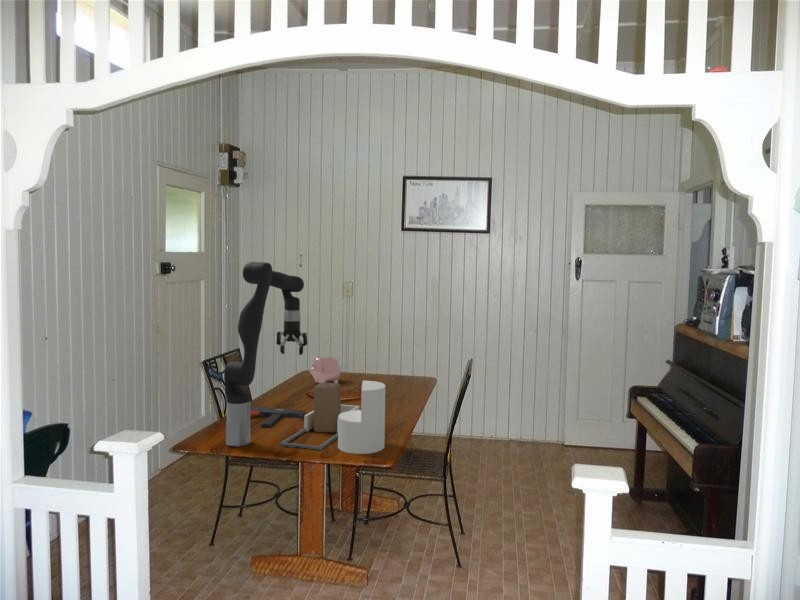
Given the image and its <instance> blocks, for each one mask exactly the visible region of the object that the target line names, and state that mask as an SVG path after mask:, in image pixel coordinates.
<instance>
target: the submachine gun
mask: <svg viewBox="0 0 800 600" xmlns="http://www.w3.org/2000/svg"><path fill="white" fill-rule="evenodd" d="M306 414H307V411H306V410H297V409H287V408H276V407H267V406H266V407H265V406H253V407H250V420H251V419H253V418H254V419H255V418H264V419H265V418H267V419H265V420H264V421H263V422H262V423H261V424H260V426H261V428H269V429H270V428H272V427H273V426H274V425H275V424H276V423H277V422H278V421H279V420H280V419H281V418H294V419H295V418H296V419H297V418H299V419H300V421H301V420H302V422H304V416H305V415H306ZM302 417H303V418H302Z"/></svg>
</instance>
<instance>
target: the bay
mask: <svg viewBox="0 0 800 600" xmlns="http://www.w3.org/2000/svg"><path fill="white" fill-rule="evenodd" d="M304 432H305V433H307V432H306V429H304V428H302V429H300V430H299V431H297V432H296V433H293V434H292V435H291V436H289V437H288V438H285V439H284V440H283V441H281V442H280V443H279V446H280V447H285V446H289V448H294V447H301V448H300V449H303V448H307V449H306V450H311V449H316V450H315V451H322V450H323V449H324V448H326V447H327V446H328V445H330V444H331V443H332V442H334V441H335V440H336V439H337V440H338V433H337V432H336V433H334V435H332V436H331V437H330V438H328V439H327V440H325V441H324V442H322V443H321V444H320V445H312V444H311V445H310V444H300V443H293V442H292V441H293V440H295V439H297V438H298V437H300V436H301V435H303V434H305V433H304ZM302 433H303V434H302ZM299 435H300V436H299ZM296 437H297V438H296ZM294 438H295V439H294ZM291 440H292V441H291ZM288 442H289V443H288ZM325 446H326V447H325Z"/></svg>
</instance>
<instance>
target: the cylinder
mask: <svg viewBox="0 0 800 600" xmlns="http://www.w3.org/2000/svg"><path fill="white" fill-rule="evenodd" d="M360 390H361V400H360V401H361V403H360V404H361V405H360V408H361V409H359V410H353V411H347V412H343V413H341V414H339V416H338V438H337V448H338V450H339V451H341V452H344V453H346V454H347V453H348V454H355V455H366V454H367V455H368V454H373V453H375V454H376V453H378V451H379V452H381V451H383V450H384V449H385V438H386V437H385V433H386V432H385V431H386V430H385V429H386V428H385V424H386V384H385V383H383V382H380V381H375V380H362V384H361V389H360ZM382 449H383V450H382Z"/></svg>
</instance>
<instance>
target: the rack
mask: <svg viewBox="0 0 800 600" xmlns="http://www.w3.org/2000/svg"><path fill="white" fill-rule="evenodd" d="M353 410H360V405H352V404H351V405H350V404H341V411H340V414H341V413H343V412H347V411H353ZM305 414H306V415H305V416H304V418H303V420H304V421H303V424H304V425H303V426H304V427H303V429H306V432H305V433H308V432H309V431H310V429H311V430H312V429H314V409H313V410H312V411H310V412H309V413H305ZM337 433H338V419H337V432H336V434H337Z"/></svg>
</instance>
